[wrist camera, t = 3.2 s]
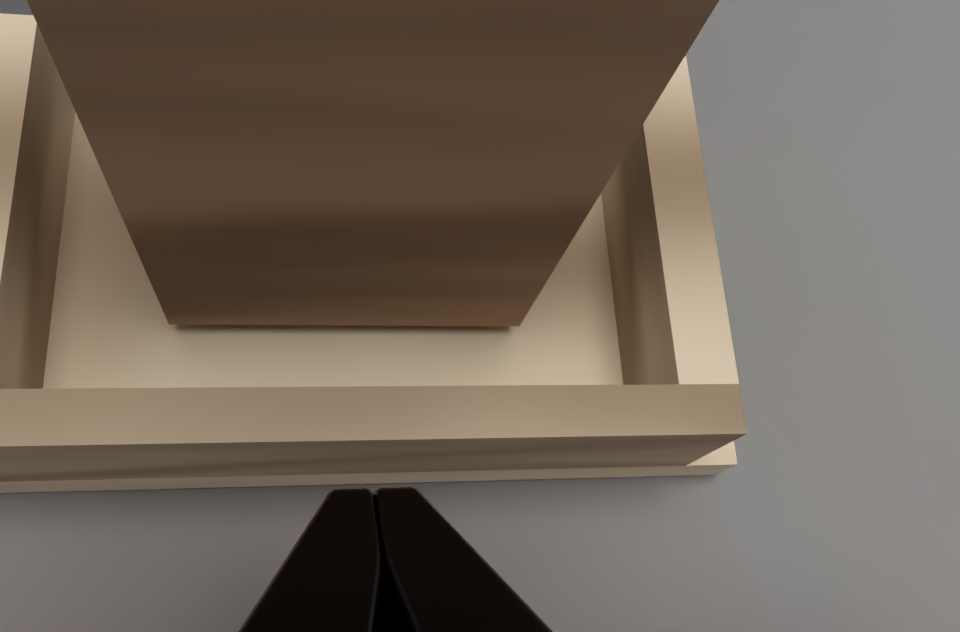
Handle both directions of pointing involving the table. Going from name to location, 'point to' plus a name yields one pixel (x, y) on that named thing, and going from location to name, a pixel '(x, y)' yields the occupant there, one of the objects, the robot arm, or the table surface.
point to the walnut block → (360, 144)
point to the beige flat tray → (351, 341)
